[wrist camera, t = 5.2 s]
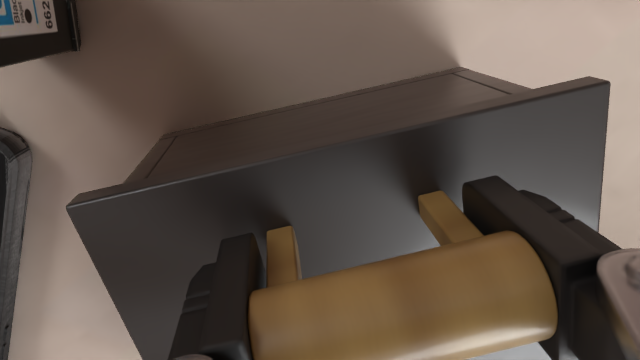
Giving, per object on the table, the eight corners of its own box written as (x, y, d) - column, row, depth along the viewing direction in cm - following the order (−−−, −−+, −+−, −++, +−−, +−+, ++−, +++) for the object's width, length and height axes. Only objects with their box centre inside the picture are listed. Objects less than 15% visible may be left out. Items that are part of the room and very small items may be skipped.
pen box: (162, 134, 19) (94, 214, 11) (461, 66, 19) (579, 102, 12) (259, 398, 25) (255, 556, 18) (481, 344, 25) (564, 477, 18)
